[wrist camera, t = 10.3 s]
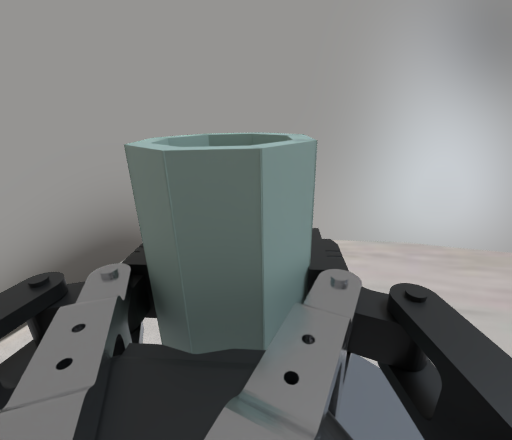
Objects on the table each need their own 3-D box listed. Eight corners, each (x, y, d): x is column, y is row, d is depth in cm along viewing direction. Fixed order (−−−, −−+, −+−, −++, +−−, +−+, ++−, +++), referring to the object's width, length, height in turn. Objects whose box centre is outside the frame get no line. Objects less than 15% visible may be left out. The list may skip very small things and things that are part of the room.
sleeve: (243, 328, 16) (234, 130, 12) (326, 390, 12) (352, 136, 8) (154, 392, 12) (98, 142, 8) (233, 507, 9) (200, 158, 5)
